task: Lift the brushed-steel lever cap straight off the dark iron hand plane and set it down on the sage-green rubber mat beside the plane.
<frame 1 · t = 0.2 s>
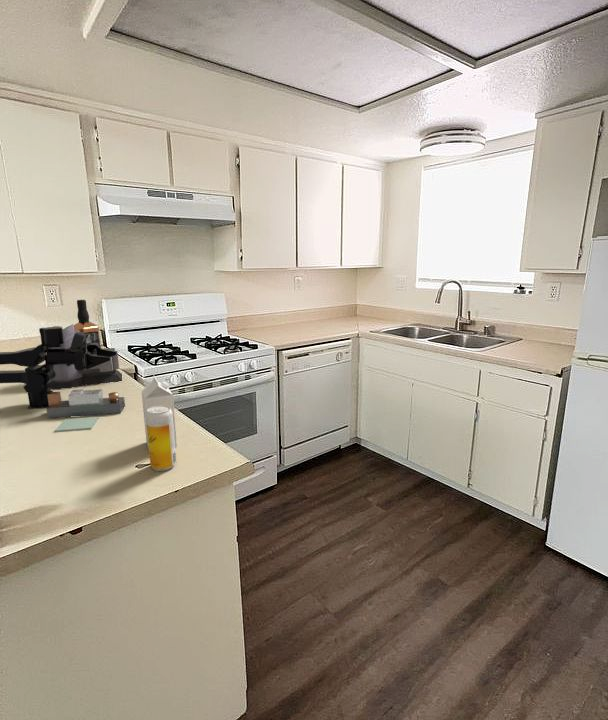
hand: (113, 356, 146), 17 cm above the counter, tool horizontal, fingers open, 9 cm apart
whiskey bottle: (89, 368, 195), on the counter
beer can: (163, 466, 102), on the counter
milk carton: (161, 445, 114), on the counter
hand plane: (88, 412, 138), on the counter
mat: (77, 424, 128), on the counter
lever cap: (86, 402, 137), point 3 cm above the counter, touching hand plane
juicer: (84, 382, 173), on the counter
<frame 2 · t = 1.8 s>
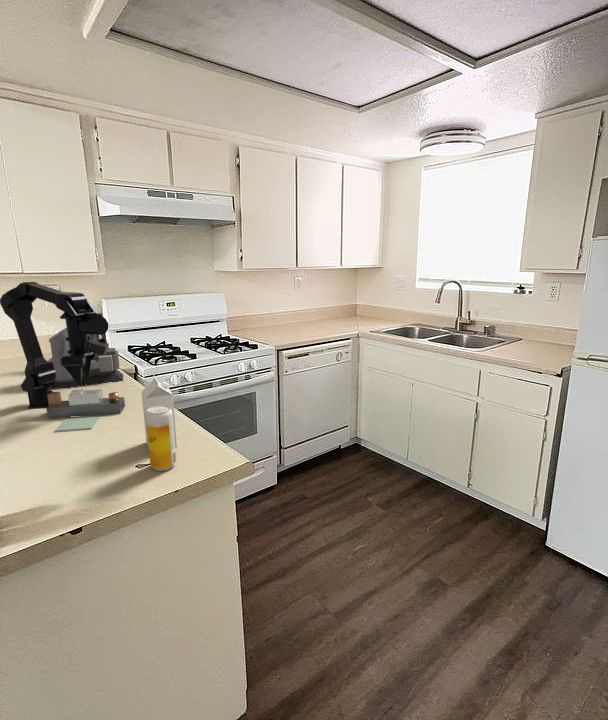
hand: (83, 379, 135), 11 cm above the counter, tool pointing down, fingers open, 9 cm apart
nothing on the counter moved.
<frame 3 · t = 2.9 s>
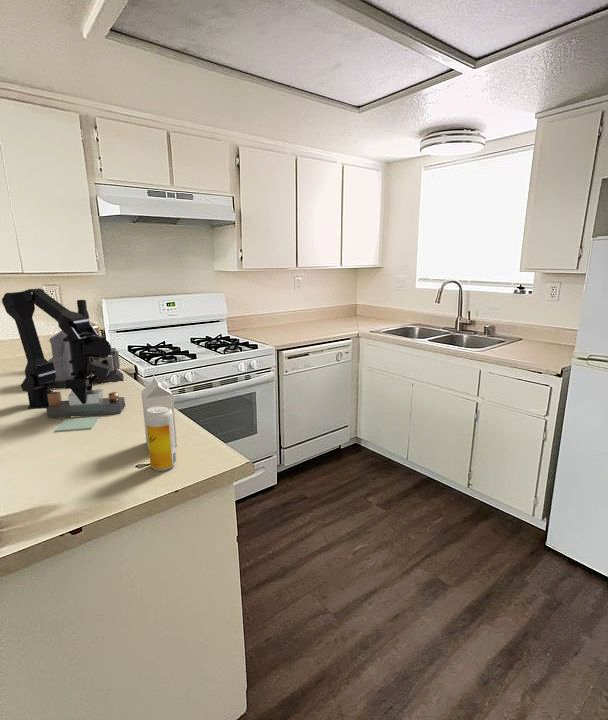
hand: (86, 401, 137), 4 cm above the counter, tool pointing down, fingers closed on lever cap, 5 cm apart
lever cap: (86, 402, 137), point 3 cm above the counter, touching gripper, hand plane
everything else where it was.
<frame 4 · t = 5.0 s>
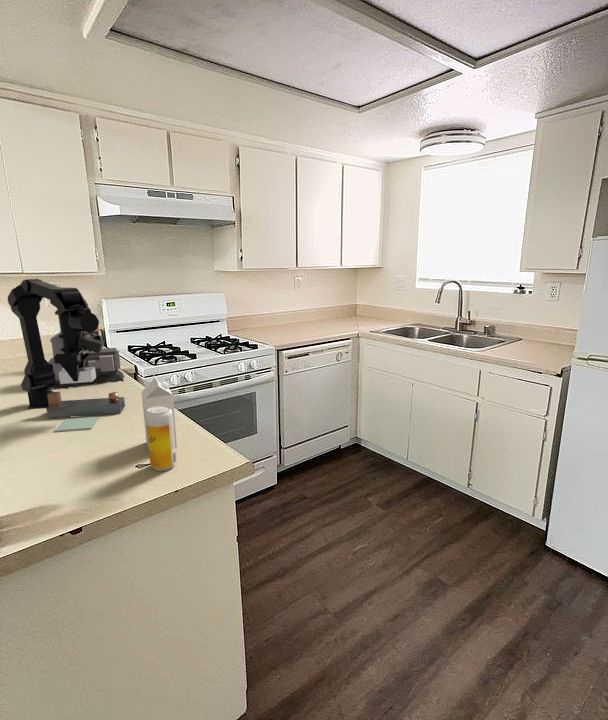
hand: (78, 379, 129), 13 cm above the counter, tool pointing down, fingers closed on lever cap, 5 cm apart
lever cap: (78, 380, 129), point 13 cm above the counter, touching gripper
everything else where it was.
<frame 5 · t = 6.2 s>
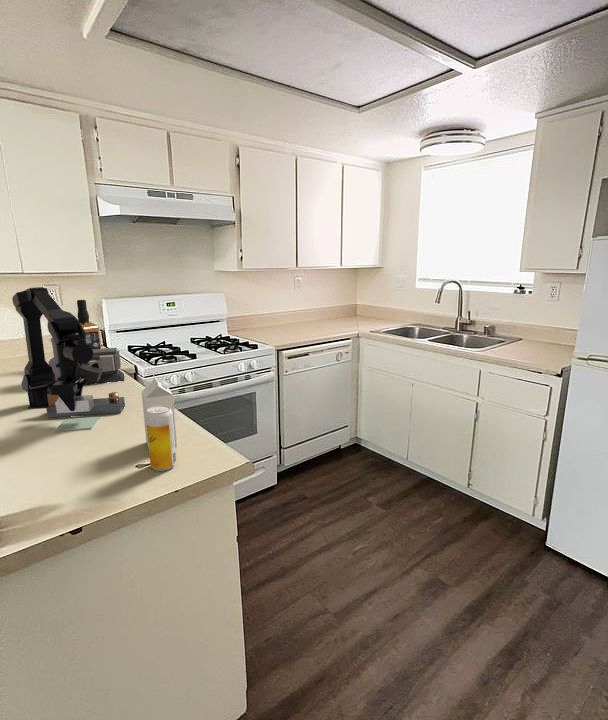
hand: (75, 407, 126), 6 cm above the counter, tool pointing down, fingers closed on lever cap, 5 cm apart
lever cap: (75, 409, 126), point 5 cm above the counter, touching gripper
everything else where it was.
when the fingers open (2 cm above the counter, at t = 7.2 s): lever cap drops 1 cm, resting on mat.
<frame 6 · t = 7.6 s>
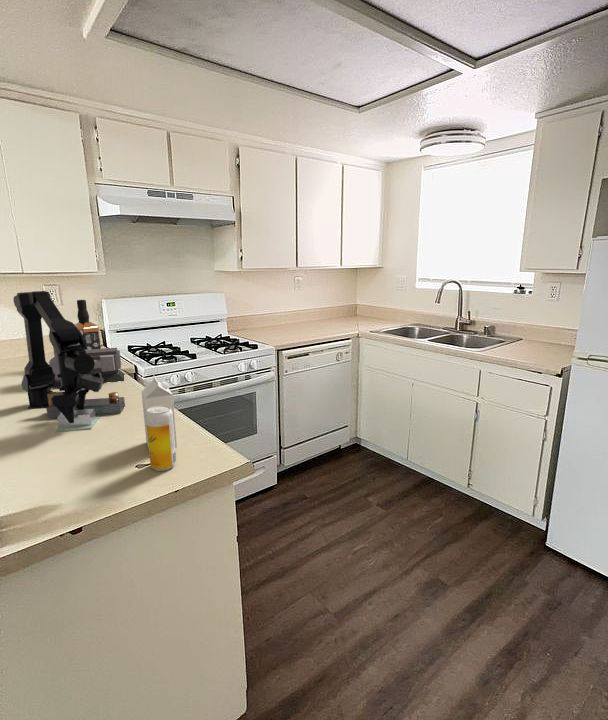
hand: (76, 417, 127), 2 cm above the counter, tool pointing down, fingers open, 9 cm apart
lever cap: (77, 423, 127), resting on mat
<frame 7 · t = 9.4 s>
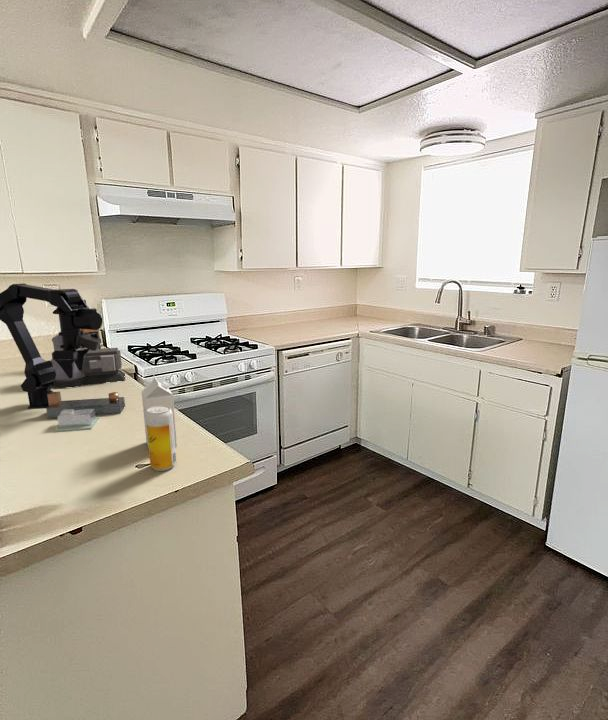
hand: (75, 374, 138), 12 cm above the counter, tool pointing down, fingers open, 9 cm apart
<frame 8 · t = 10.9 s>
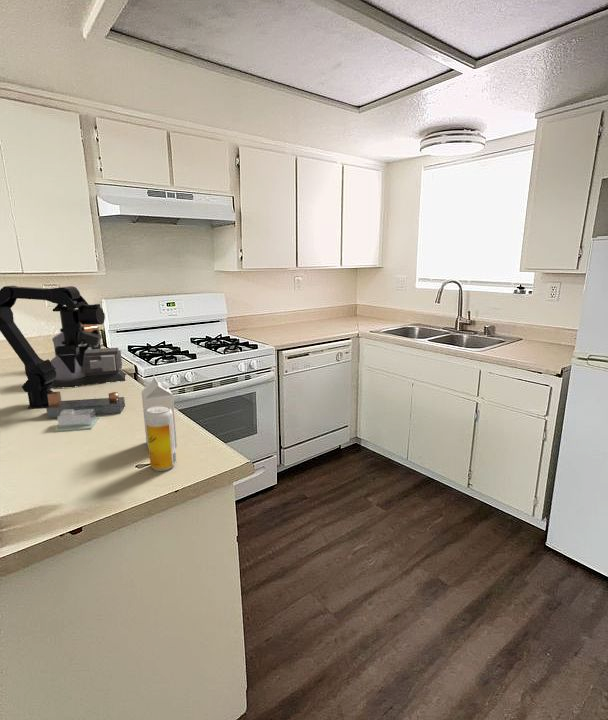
hand: (77, 369, 142), 13 cm above the counter, tool pointing down, fingers open, 9 cm apart
at the end: lever cap inside the target area (0.0 cm from its centre), point 0.5 cm above the counter; lever cap touching mat; lever cap tilted 0° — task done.
